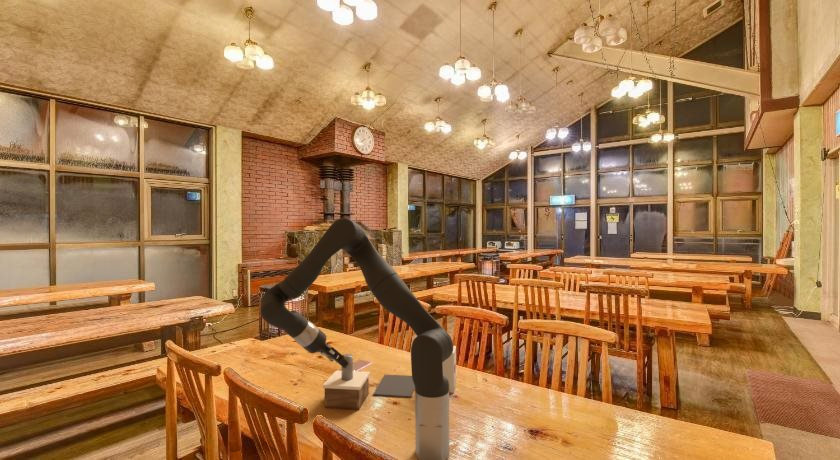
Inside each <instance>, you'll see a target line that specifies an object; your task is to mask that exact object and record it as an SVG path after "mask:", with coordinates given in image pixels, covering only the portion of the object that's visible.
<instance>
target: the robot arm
mask: <svg viewBox="0 0 840 460" xmlns="http://www.w3.org/2000/svg"><path fill="white" fill-rule="evenodd" d="M340 250H343V251H345V252H346V253H347V254H348V255H349V256H350V257H351V258H352V259H353V261H354V262H355V264H357V266H358V267H359V269H360V270H361V273H362V276H363V278H364V281H365V282H366V285H367V287H368V289H369V291H370V292H371V293H372V295H373V296H374V297H375V299H376V300H377V302H378V303H379V304H380V305H381V307H383V308H384V310H386V311H387V312H389V313H390V314H391V315H394V317H397V318H398V319H400V320H402V321H403V322H404V323H406V324H407V325H408V326H409V328H410V329H411V330H413V333H414V334H415V335H416V337H415V338H414V339H413V340H412V344H411V347H410V363H411V376H412V379H413V382H414V385H415V388H414V414H415V415H414V417H415V418H414V419H415V420H414V421H415V423H414V425H415V426H414V428H415V431H414V435H415V437H414V438H415V439H414V440H415V457H416V458H417V457H418V458H419V459H418V458H417V459H418V460H447V459H448V458H449V456H450V393H449V381H448V379H447V378H446V377H444V376H443V366H442V363H443V362H444V361H445V360H446V359H448V358H449V357H450V356H451V354H452V352H453V346H454V343H453V340H452V337H451V336H450V334H449V333H448V332H447V330H446V329H445V328H444V327H443V326H442V324H440V323H439V322H438V321H437V320H436V319H435V318H434V317H433V316H432V315H431V314H430V313H429V312H428V310H427V309H426V308H425V307H424V306H423V305H422V303H421V301H419V300H418V298H417V297H416V296H415V294H414V293H413V292H412V291H411V289H410V288H409V287H408V286H407V284H406V283H405V281H404V280H403V279H402V277H401V276H400V275H399V274H398V273H397V271H396V270H395V269H394V267H392V266H391V264H390V263H389V262H388V261H387V260H386V259H385V258H384V257H383V256H382V255H381V254H380V253H379V252H378V250H377V249H376V247H375V246H374V244H373V243H372V242H371V239H370V238H369V236H368V235H367V233H366V231H365V230H364V228H363V227H362V226H361V225H360V224H358V223H357V222H355V221H354V220H352V219H351V218H348V217H340V218H338V219H336V220H335V221H334V222H333V223H332V224H330V226H329V227H328V228H327V229H326V231H325V233H324V234H322V236H321V237H320V239H319V240H318V241H317V242H316V244H315V246H314V247H313V248H312V249H311V250H310V252H309V253H308V254H307V255H306V256H305V257H304V258H303V260H301V262H300V263H299V264H298V265H297V266H296V267H295V268H294V269H293V270H292V271H291V272H290V273H288V274H287V276H285V277H284V279H283V280H282V281H279V282H278V283H276V284H275V285H273V286H271V287H270V288H269V289H267V291H266V292H265V293H264V294H263V295H262V297H261V299H260V305H259V312H260V313H259V314H260V316H261V318H262V319H263V321H265V322H266V323H268V324H269V325H270V326H273V327H275V328H277V329H279V330H283V332H284V333H285V334H287V335H288V336H289V337H291V338H292V339H293V340H294V342H296V343H297V344H298V345H299V346H300V347H302V348H303V349H304V350H305V351H306V352H307V353H308V354H309V353H310V354H315V353H318V355H321V356H323V357H325V358H326V359H327V360H329V361H330V362H335V363H336V364H338V365H340V366H342V367H343V368H346V367H347V365H348V362H347V361H346V360H345V359H344V356H343V355H344V354H342V353H340V352H339V351H338V350H337V349H336V348H335V347H332V345H331V344H330V343H328V342H326V341H327V335H326V333H324V331H322V330H321V329H320V328H319V327H318V326H317V325H315V323H313V322H312V321H310V320H308V319H307V318H306V317H305V316H303V314H302V313H300V312H298V311H297V310H289V309H288V308H287V307H286V303H287V302H288V301H289V300H290V299H297V298H299V297H301V295H302V294H304V293H305V291H307V290H308V289H309V288H310V287H311V286H312V285H313V284H314V282H315V281H316V280H317V278H318V277H319V276H320V274H321V272H322V270H323V268H324V266H325V265H326V263H327V262H328V261H329V260H330V258H331V257H333V256H334V255H336V254H337V252H339V251H340Z"/></svg>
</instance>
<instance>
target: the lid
mask: <svg viewBox="0 0 840 460" xmlns="http://www.w3.org/2000/svg"><path fill="white" fill-rule="evenodd" d="M342 355H343V356H344V359H345V360H346V361H347V362H348V365H347V367H346V368H343V367H342V366H341V365H340V366H341V368H340V369H341V371H339V369H338V370H335V371H334V372H333V373H332V374H331V376H329V377H328V378H327V380H326V381H325V382H324V383H323V384H322V389H325V388H332V389H351V390H360V389H361V387H362V386H363V384H364V383H365V382H366V380H367V379H368V380H369V377H370V376H371V372H370V371H361V370H359V371H353V363H354V355H353V354H352V353H345V354H344V353H343V354H342Z"/></svg>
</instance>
